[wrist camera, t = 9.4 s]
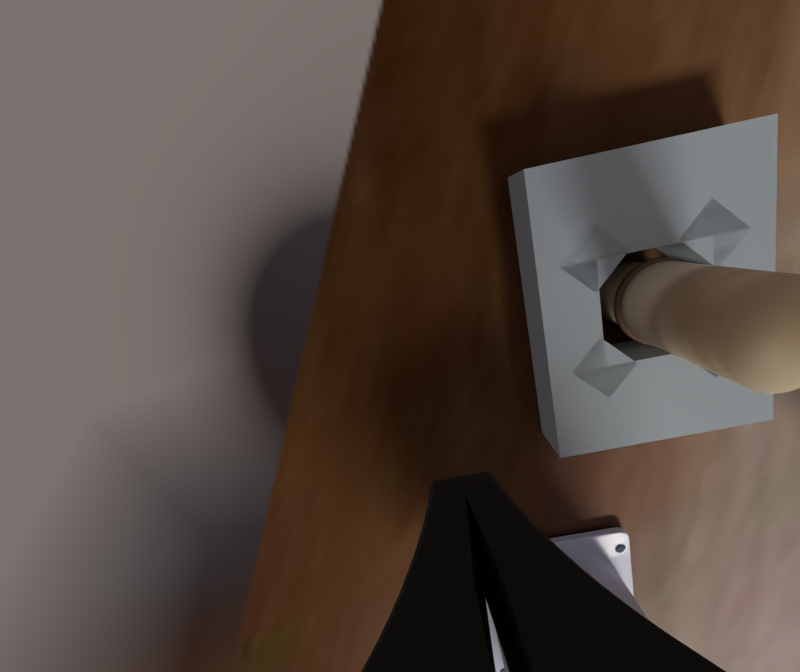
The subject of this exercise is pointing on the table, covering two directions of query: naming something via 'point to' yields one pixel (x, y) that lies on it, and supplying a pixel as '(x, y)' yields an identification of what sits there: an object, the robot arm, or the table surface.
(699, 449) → the table surface
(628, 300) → the peg
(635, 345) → the board
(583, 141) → the table surface
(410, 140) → the table surface
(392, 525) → the table surface
